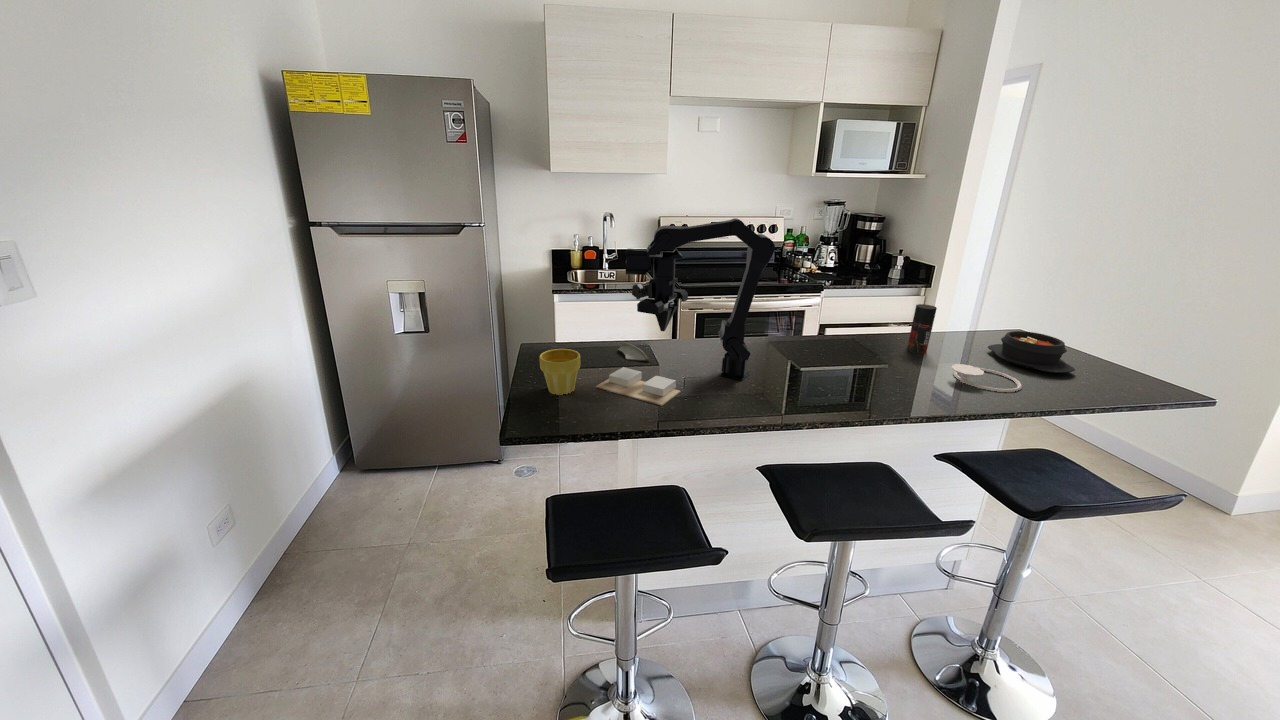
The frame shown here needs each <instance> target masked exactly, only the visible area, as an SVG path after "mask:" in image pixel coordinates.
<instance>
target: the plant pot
mask: <svg viewBox="0 0 1280 720" xmlns="http://www.w3.org/2000/svg"><path fill="white" fill-rule="evenodd" d="M539 367H540V370H541V371H542V372H543V375H544V379H545V381H546V385H547V389H548V392H549V393H550V394H552V395H555V394H556V396H564V395H563V394H566V395H569V394H572V393H573V392H575V387H576V381H577V377H578V371H579V369H580V368H581V354H580V352H578V351H577V350H574V349H569V348H555V349H548V350H546V351H543V352H542V353H540V355H539ZM572 391H573V392H572ZM571 392H572V393H571ZM568 393H569V394H568Z"/></svg>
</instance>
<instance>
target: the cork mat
mask: <svg viewBox="0 0 1280 720" xmlns="http://www.w3.org/2000/svg"><path fill="white" fill-rule="evenodd" d="M645 382H646V381H644V380H642V379H640V380H639V381H637V382H635V383H634V384H632V385H631V386H629V387H626V386H622V385H618V384H615V383H611V382H609V378H608V379H606V380H604V381H603V382H601V383H599V384H597V385H595V388H597V389H600V390H604V391H607V392H611V393H615V394H618V395H622V396H625V397H629V398H632V399H636V400H639V401H642V402H647V403H650V404H653V405H657V406H660V407H663V406H664V405H666V404H667V403H668V402H670V400H672V399H673V398H675V397H676V396H677V395H679V394H680V393H681V390H679V389H676V388H674V389H673V390H671V391H670V392H668V393H667V394H666V395H664V396H659V395H655V394H651V393H648V392H644V391H643V384H644V383H645Z"/></svg>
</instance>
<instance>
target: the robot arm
mask: <svg viewBox="0 0 1280 720" xmlns="http://www.w3.org/2000/svg"><path fill="white" fill-rule="evenodd" d="M732 236H735V237H737V238H738V239H739V240H740V241H742V242H743V243H744V244H745V245H746V246H747V251H746V260H745V261H746V266H745V270H744V273H743V277H742V279H741V283H740V286H739V289H738V292H737V295H736V298H735V301H734V305H733V308H732V310H731V311H732V312H731V314H730V316H729V318H728V319H727V320H725V319H721V320H722V321H721V326H720V329H718V331H717V333H718V335H719V341H720V343H721V346H722V348H723V350H725V351H726V352H725V353H724V357H723V358H722V359H721V360H722V361H721V362H722V363H721V373H720V376H721V377H724V378H729V379H733V380H738V381H743V380H744V379H746V377H748V376H749V375H750V371H749V361H750V356H751V352H750V350H749V348H748V346H747V344H746V342H745V335H746V334H745V333H746V320H747V318H748V314H749V312H750V309H751V306H752V303H753V300H754V296H755V293H756V290H757V287H758V285H759V281H760V278H761V275H762V273H763V271H764V270H765V268H766V267H767V265H769V263H770V260H771V259H772V257H773V256H774V253H775V249H776V247H775V243H774V241H773V240H772V239H771V238H770V237H768V236H767V235H765V234H762V233H759V234H758V233H756V232H755V231H753V229H751V228H750V227H748V225H746V224H745V223H744V222H743V221H742V220H741V219H740V218H732V219H728V220H722V221H716V222H709V223H703V224H697V225H691V226H690V225H689V226H683V225H680V226H679V225H662V226H658V228H656V230H655V231H654V234H653V240H652V241H651V242H650V244H649V245H648V246H647V248H646V249H639V248H638V249H635V248H627V249H626V258H625V275H626V276H627V275H628V276H633V275H634V276H647V273H650V272H651V271H652V268H653V275H652V276H653V277H652V278H650V279H649V281H648V283H646V284H641V283H637V284H634V285H632V288H631V295H632V296H633V297H635V299H636V300H640V299H641V298H644V299H642V300H640V301H639V302H638V303H637V304H636V311H637V312H638V313H644V314H650V315H655V318H656V320H657V324H658V326H659V330H660V332H665V331H666V330H667V328H668V325H669V324H670V323H671V320H672V318H673V316H674V314H675V313H676V311H677V310H678V309H677V308H679V305H678V304H675V302H674V300H676V299H679V300H680V301H681V302H683V303H684V302H686V301H688V300H689V293H688V292H687V290H686V289H684V288H683V289H682V288H675V284H677V283H678V282H679V281H678V280H679V279H678V278H677V277H676V276H675V275H676V260H682V259H683V255H682V253H681V252H680V251H679V250H678V249H677V248H680V247H682V246H684V245H686V244H689V243H693V242H699V241H705V240H706V241H707V240H712V239H713V240H714V239H719V238H725V237H732ZM671 250H673V251H671ZM661 252H662V254H661ZM659 253H660V254H659ZM652 260H653V267H652ZM646 297H647V298H646Z"/></svg>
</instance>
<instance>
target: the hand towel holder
mask: <svg viewBox="0 0 1280 720" xmlns="http://www.w3.org/2000/svg"><path fill="white" fill-rule="evenodd" d="M951 369H952V370H953V376H954V378H955V377H956V378H957V379H959V380H960V381H959V380H958V381H959V382H960V383H961V382H962V383H961V384H963V383H967V384H969V385H972V386H975V387H978V388H977V389H979V388H982V389H981V390H983V389H986V390H985V391H987V390H991V391H990V392H994V391H997V392H996V393H1004V392H1007V393H1015V391H1016V392H1018V390H1019V391H1020V390H1021V389H1022V388H1023V386H1022V384H1021V381H1020V380H1018V379H1017V378H1015V377H1013V376H1010V374H1009V375H1008V374H1006V373H1004V372H1000V371H997V370H993V369H988V368H982V367H976V366H972V365H969V364H964V363H963V364H961V363H958V364H956V363H955V364H952V366H951ZM984 371H987V372H992V373H995V374H994V375H996V374H999V375H1002V376H1004V377H1003V378H1005V377H1007V378H1009V379H1011V380H1013V381H1014V382H1015V383H1014V382H1013V381H1012V382H1013V383H1014V384H1016V386H1017V387H1014V388H995V387H991V386H985V385H983V384H982V385H981V384H978V383H974V382H971V381H969V377H981V376H983V375H984V374H985V372H984ZM987 372H986V373H987ZM992 373H991V374H992ZM959 374H961V375H962V377H961V376H959ZM999 375H998V376H999ZM1002 376H1001V377H1002ZM956 378H955V379H956ZM1007 378H1006V379H1007ZM1009 379H1008V380H1009ZM1011 380H1010V381H1011ZM967 384H966V385H967ZM969 385H968V386H969ZM972 386H971V387H972ZM975 387H974V388H975Z"/></svg>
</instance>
